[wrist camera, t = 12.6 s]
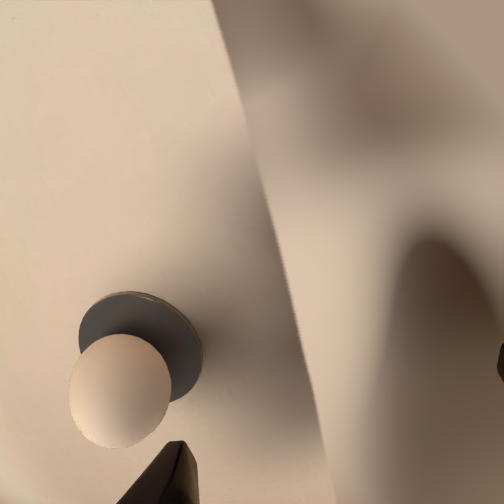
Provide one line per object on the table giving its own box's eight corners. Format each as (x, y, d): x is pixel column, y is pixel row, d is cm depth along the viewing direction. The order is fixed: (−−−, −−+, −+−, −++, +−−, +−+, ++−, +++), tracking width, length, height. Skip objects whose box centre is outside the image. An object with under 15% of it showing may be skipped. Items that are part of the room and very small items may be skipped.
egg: (92, 310, 17) (31, 379, 10) (178, 319, 18) (149, 403, 10) (103, 382, 18) (62, 460, 11) (180, 392, 19) (163, 481, 12)
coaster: (113, 264, 17) (110, 267, 17) (228, 341, 19) (228, 345, 18) (65, 355, 18) (63, 359, 18) (163, 417, 20) (162, 422, 19)
